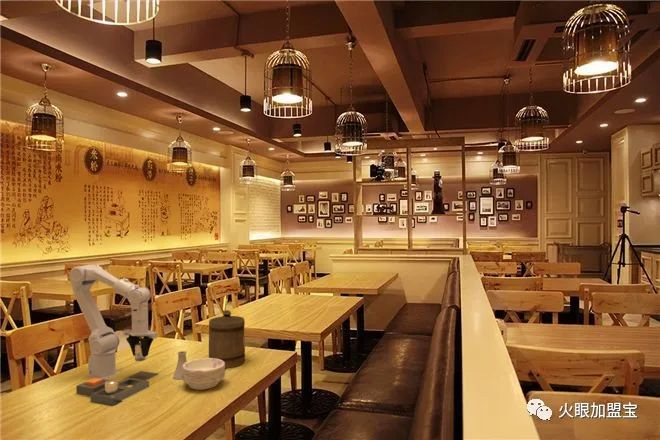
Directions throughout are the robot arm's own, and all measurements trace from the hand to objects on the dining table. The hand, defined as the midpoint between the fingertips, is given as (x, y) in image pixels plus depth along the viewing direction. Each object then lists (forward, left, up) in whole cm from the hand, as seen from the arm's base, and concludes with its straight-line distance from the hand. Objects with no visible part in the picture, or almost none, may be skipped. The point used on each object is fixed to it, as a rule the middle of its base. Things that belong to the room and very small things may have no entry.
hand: (140, 355), depth 171 cm
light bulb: (+5, -18, -9) cm, 21 cm away
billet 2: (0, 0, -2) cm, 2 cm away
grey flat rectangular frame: (+5, -14, -9) cm, 17 cm away
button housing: (-6, -15, -9) cm, 19 cm away
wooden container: (+21, +27, -9) cm, 35 cm away
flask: (+15, +6, -9) cm, 18 cm away
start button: (-6, -15, -8) cm, 18 cm away
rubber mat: (0, +1, -9) cm, 9 cm away
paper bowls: (+27, +3, -9) cm, 28 cm away
